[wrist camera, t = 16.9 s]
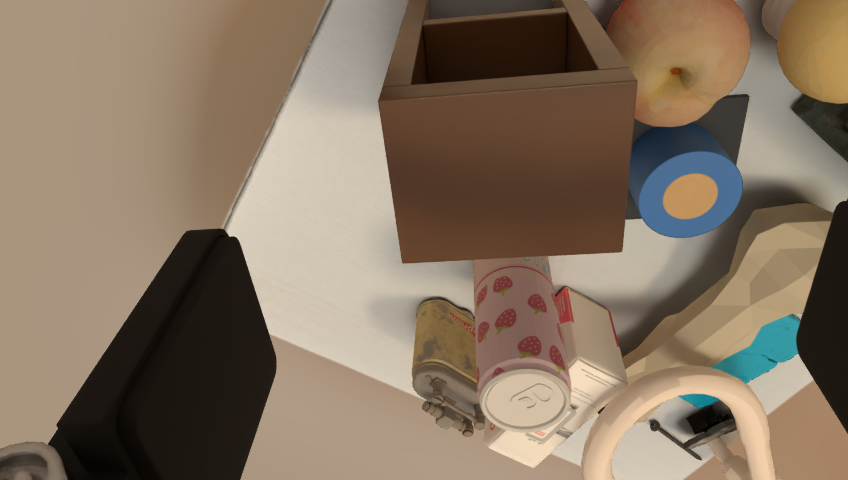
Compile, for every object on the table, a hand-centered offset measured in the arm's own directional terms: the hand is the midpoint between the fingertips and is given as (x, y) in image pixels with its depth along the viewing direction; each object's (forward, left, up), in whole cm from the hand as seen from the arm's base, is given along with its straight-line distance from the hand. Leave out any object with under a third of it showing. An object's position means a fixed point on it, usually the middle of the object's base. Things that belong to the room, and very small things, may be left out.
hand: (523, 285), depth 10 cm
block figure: (+44, +16, -31) cm, 56 cm away
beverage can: (+22, +1, -32) cm, 39 cm away
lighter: (+29, -4, -32) cm, 44 cm away
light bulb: (+5, +19, -32) cm, 38 cm away
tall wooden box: (+7, +1, -32) cm, 33 cm away
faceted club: (+28, +15, -32) cm, 45 cm away
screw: (+45, +17, -31) cm, 58 cm away
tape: (+15, +13, -32) cm, 37 cm away
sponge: (+36, +23, -31) cm, 53 cm away
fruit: (+6, +11, -32) cm, 35 cm away
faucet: (+50, +17, -26) cm, 59 cm away
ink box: (+27, +7, -28) cm, 39 cm away
